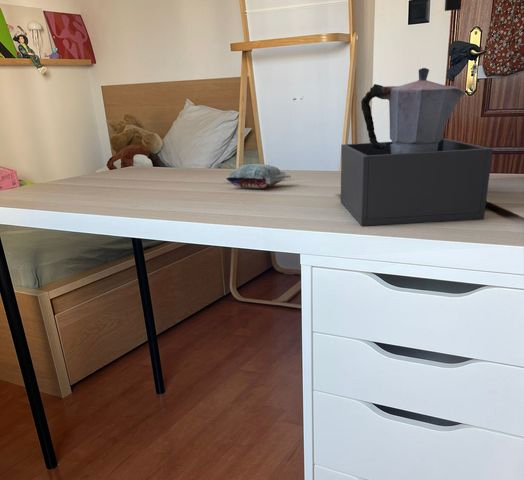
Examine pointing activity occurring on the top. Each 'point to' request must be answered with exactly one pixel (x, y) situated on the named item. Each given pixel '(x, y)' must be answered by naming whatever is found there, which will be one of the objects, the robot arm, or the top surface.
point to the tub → (415, 183)
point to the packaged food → (256, 176)
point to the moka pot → (413, 114)
